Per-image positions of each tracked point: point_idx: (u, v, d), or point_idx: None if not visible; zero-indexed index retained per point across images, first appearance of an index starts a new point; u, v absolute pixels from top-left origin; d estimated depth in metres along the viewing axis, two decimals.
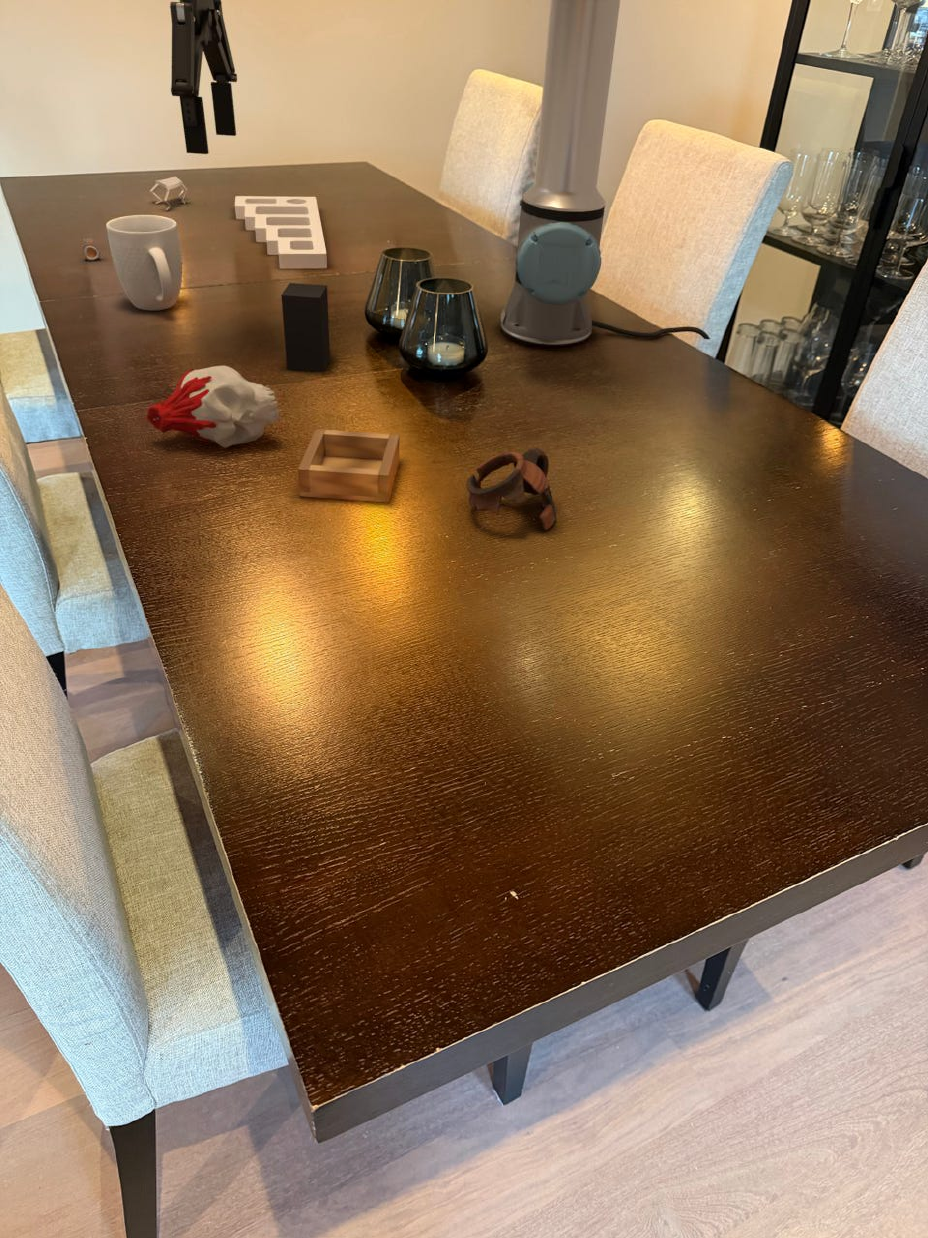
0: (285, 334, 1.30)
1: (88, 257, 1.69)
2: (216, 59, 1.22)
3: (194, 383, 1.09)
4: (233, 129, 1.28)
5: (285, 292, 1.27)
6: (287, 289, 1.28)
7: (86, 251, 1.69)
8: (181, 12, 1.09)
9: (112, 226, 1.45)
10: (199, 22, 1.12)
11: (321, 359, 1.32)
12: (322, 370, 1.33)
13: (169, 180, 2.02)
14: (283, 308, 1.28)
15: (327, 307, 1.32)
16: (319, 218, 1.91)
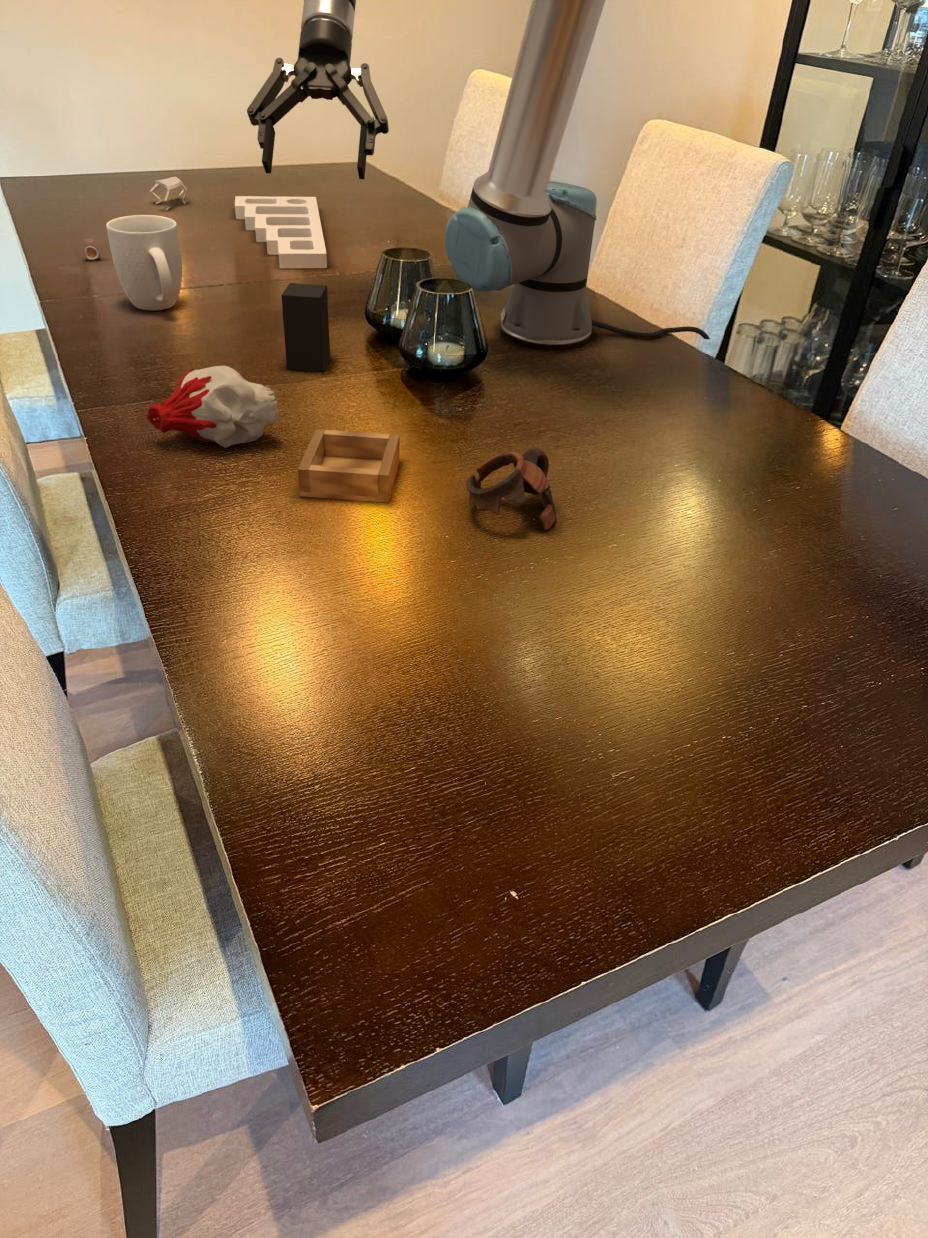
0: (285, 334, 1.30)
1: (88, 257, 1.69)
2: (353, 110, 1.29)
3: (194, 383, 1.09)
4: None
5: (285, 292, 1.27)
6: (287, 289, 1.28)
7: (86, 251, 1.69)
8: None
9: (112, 226, 1.45)
10: (299, 73, 1.29)
11: (321, 359, 1.32)
12: (322, 370, 1.33)
13: (169, 180, 2.02)
14: (283, 308, 1.28)
15: (327, 307, 1.32)
16: (319, 218, 1.91)
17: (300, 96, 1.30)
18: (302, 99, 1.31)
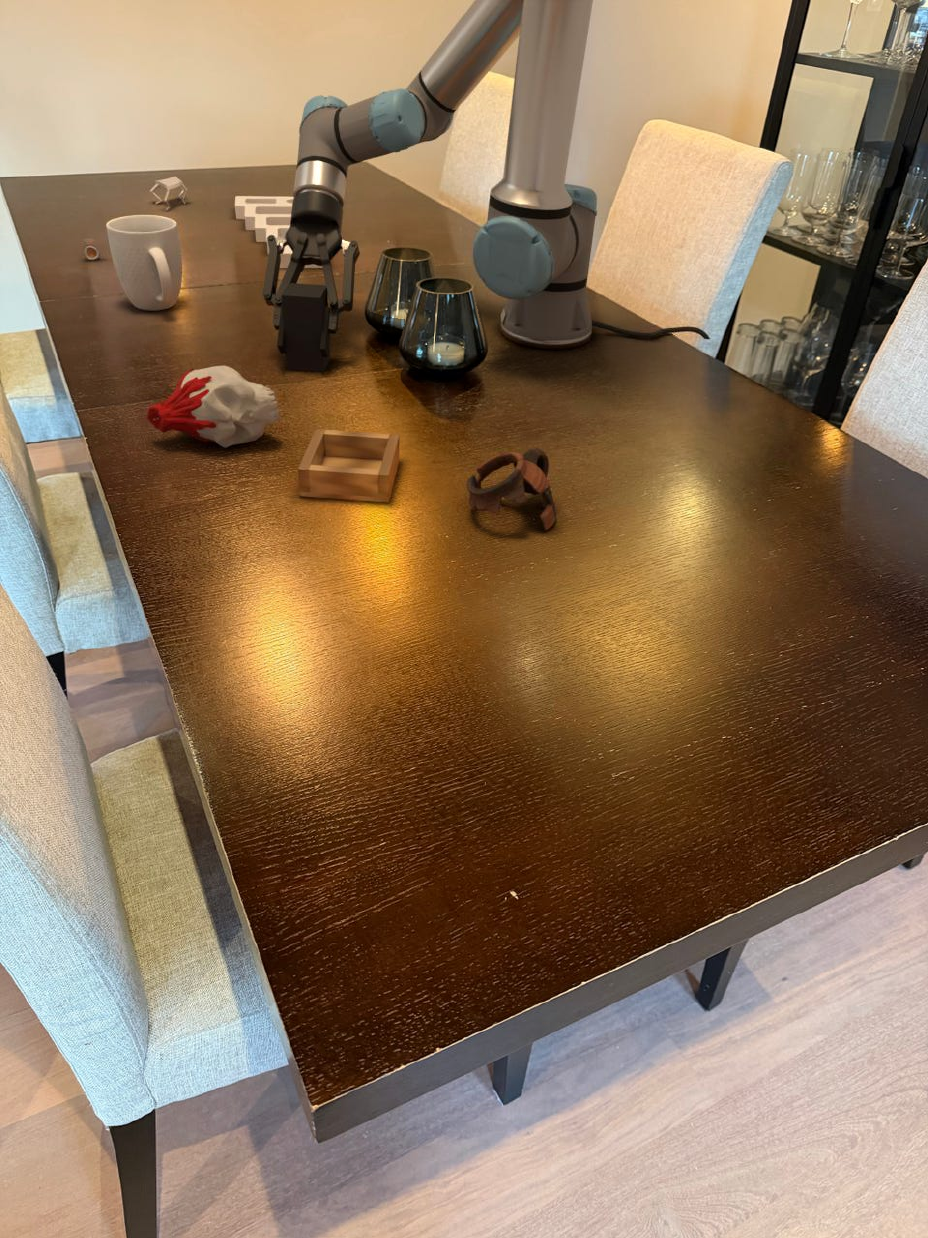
0: (285, 334, 1.30)
1: (88, 257, 1.69)
2: None
3: (194, 383, 1.09)
4: (320, 343, 1.29)
5: (285, 292, 1.27)
6: (287, 289, 1.28)
7: (86, 251, 1.69)
8: None
9: (112, 226, 1.45)
10: (290, 242, 1.31)
11: (321, 359, 1.32)
12: (322, 370, 1.33)
13: (169, 180, 2.02)
14: (283, 308, 1.28)
15: None
16: None
17: (301, 266, 1.32)
18: (302, 268, 1.33)
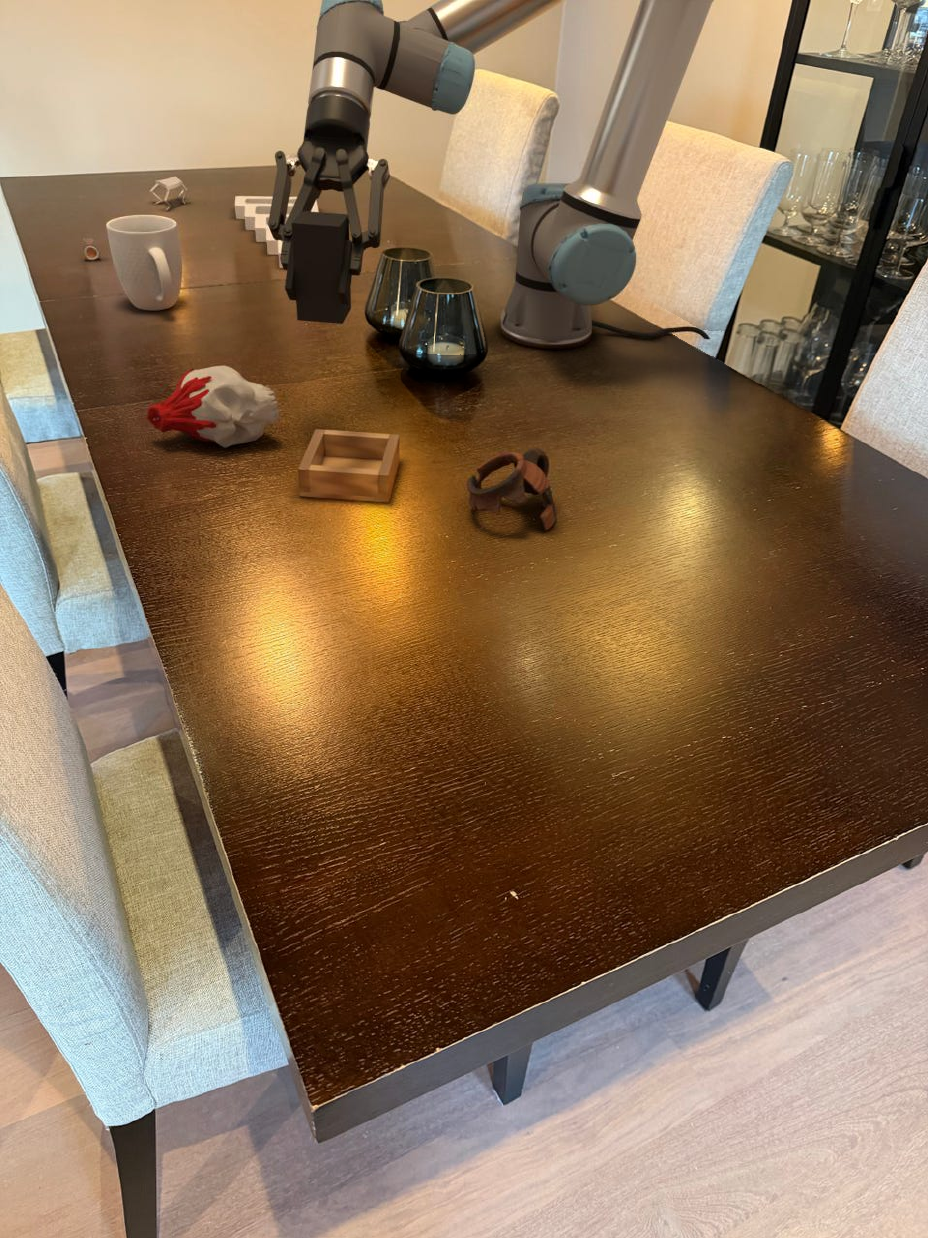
0: (295, 274, 1.03)
1: (88, 257, 1.69)
2: None
3: (194, 383, 1.09)
4: (339, 286, 1.03)
5: (296, 220, 1.01)
6: (299, 217, 1.02)
7: (86, 251, 1.69)
8: None
9: (112, 226, 1.45)
10: (304, 160, 1.05)
11: (340, 307, 1.05)
12: (341, 321, 1.06)
13: (169, 180, 2.02)
14: (293, 240, 1.01)
15: None
16: None
17: (316, 192, 1.06)
18: (318, 194, 1.07)
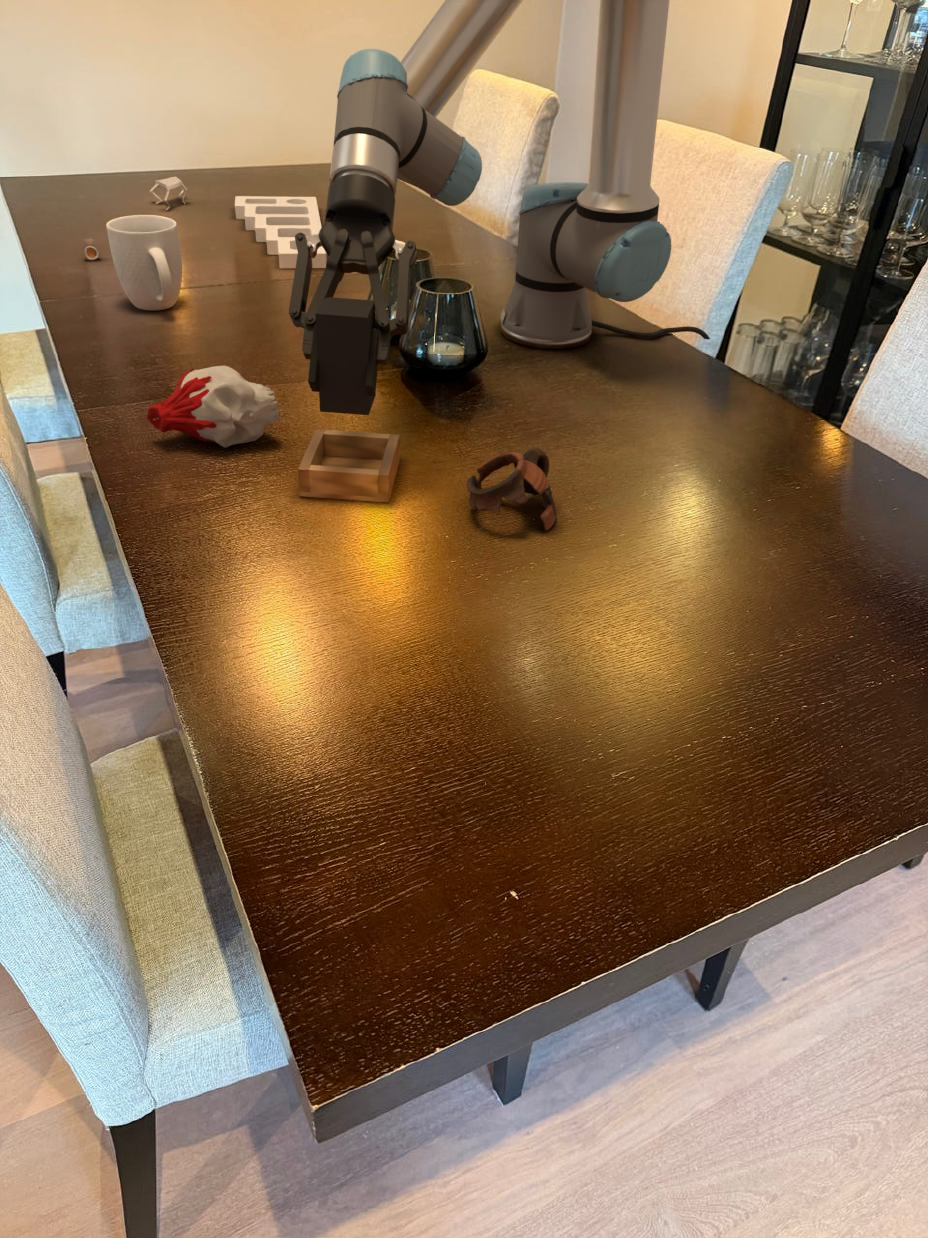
0: (319, 366, 0.97)
1: (88, 257, 1.69)
2: None
3: (194, 383, 1.09)
4: (366, 379, 0.96)
5: (320, 310, 0.94)
6: (322, 306, 0.95)
7: (86, 251, 1.69)
8: None
9: (112, 226, 1.45)
10: (326, 242, 0.98)
11: (366, 399, 0.99)
12: (367, 413, 1.00)
13: (169, 180, 2.02)
14: (317, 331, 0.94)
15: None
16: (319, 218, 1.91)
17: (339, 275, 0.99)
18: (341, 277, 1.00)
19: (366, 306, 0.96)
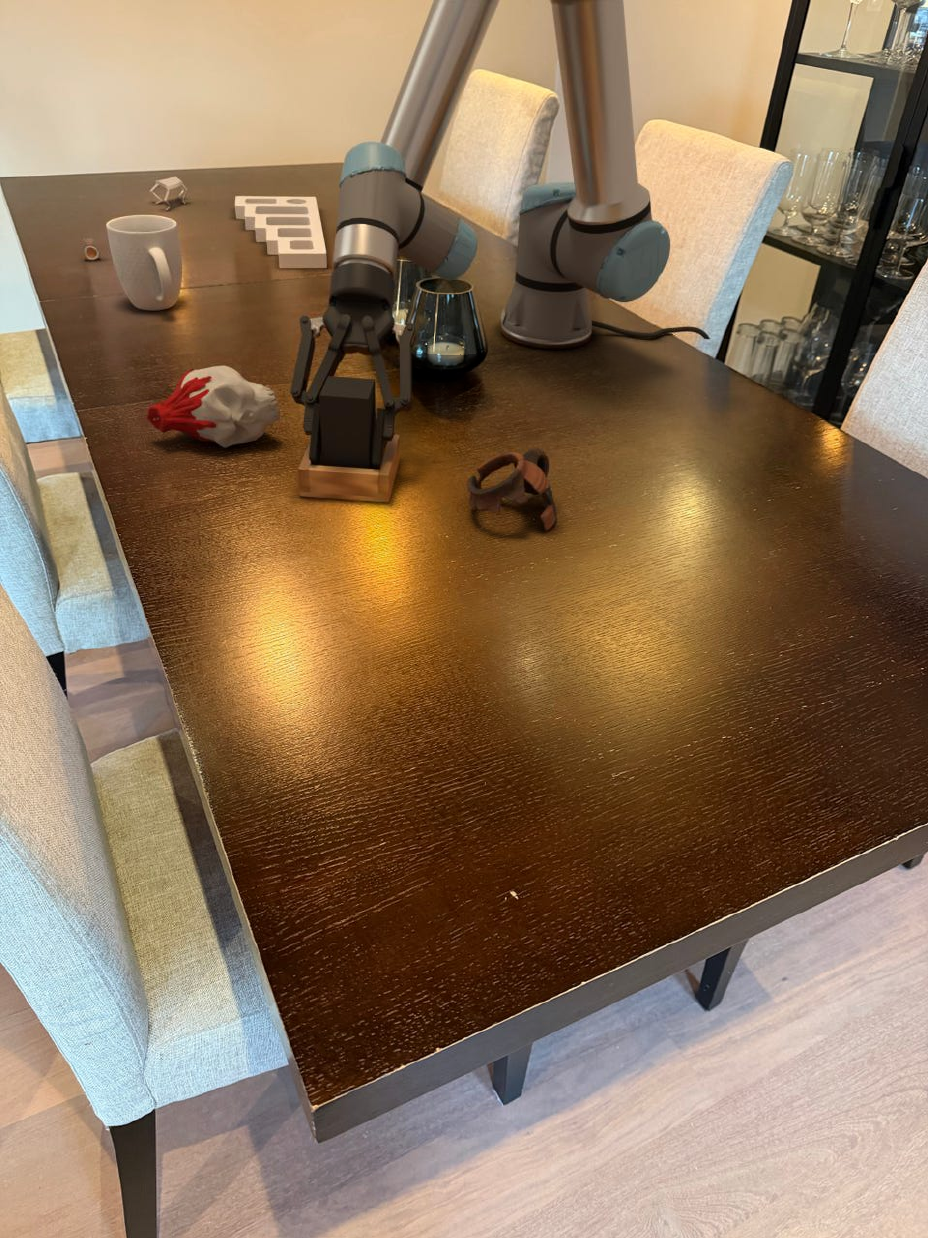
0: (323, 442, 1.02)
1: (88, 257, 1.69)
2: None
3: (194, 383, 1.09)
4: (373, 456, 1.02)
5: (324, 391, 1.00)
6: (326, 386, 1.01)
7: (86, 251, 1.69)
8: None
9: (112, 226, 1.45)
10: (329, 326, 1.04)
11: None
12: None
13: (169, 180, 2.02)
14: (321, 411, 1.00)
15: (375, 405, 1.05)
16: (319, 218, 1.91)
17: (340, 356, 1.05)
18: (342, 357, 1.06)
19: (367, 386, 1.01)
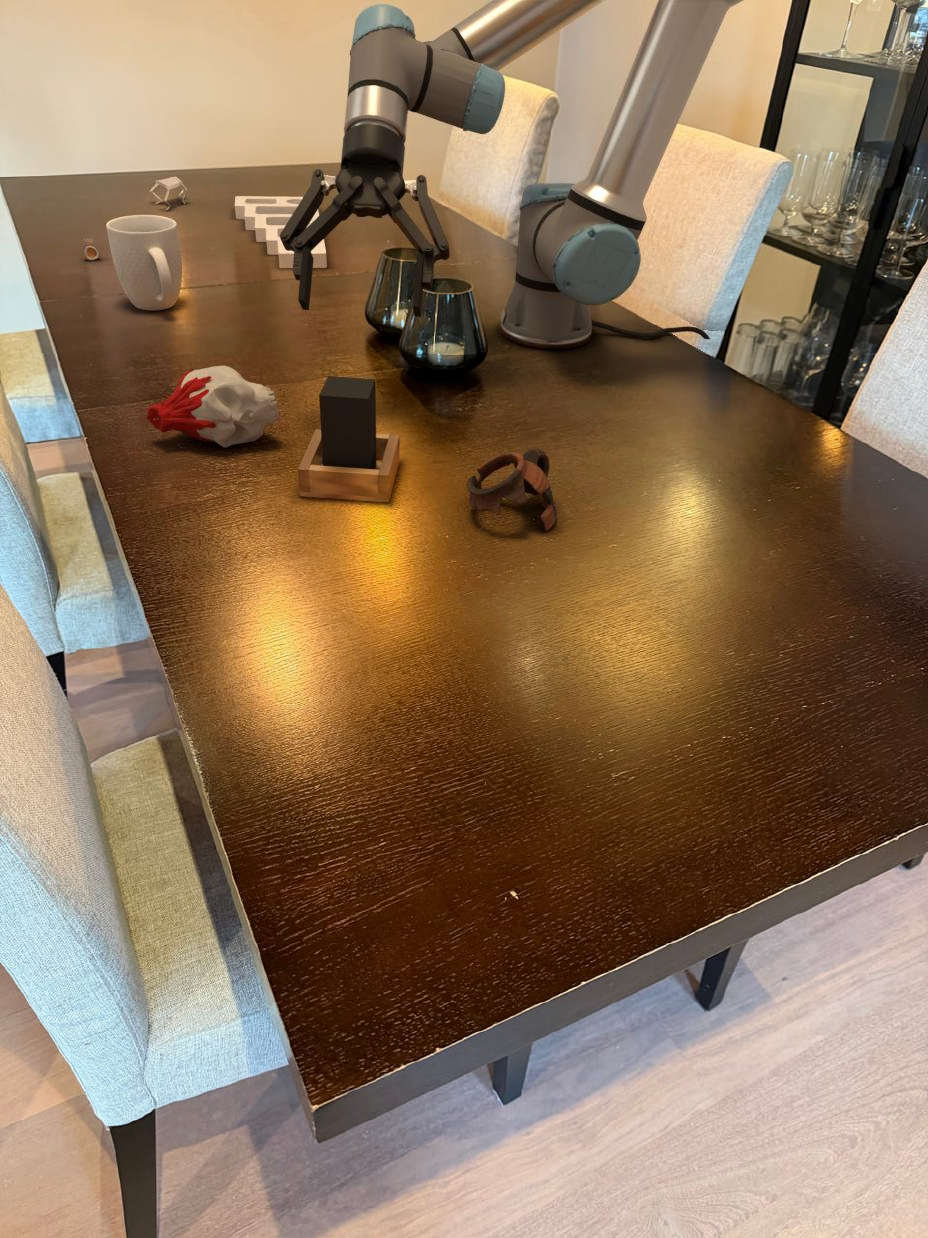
0: (323, 442, 1.02)
1: (88, 257, 1.69)
2: (407, 233, 1.07)
3: (194, 383, 1.09)
4: (413, 300, 1.05)
5: (324, 391, 1.00)
6: (326, 386, 1.01)
7: (86, 251, 1.69)
8: None
9: (112, 226, 1.45)
10: (342, 188, 1.07)
11: None
12: None
13: (169, 180, 2.02)
14: (321, 411, 1.00)
15: (375, 405, 1.05)
16: None
17: (343, 215, 1.08)
18: (345, 217, 1.09)
19: (367, 386, 1.01)
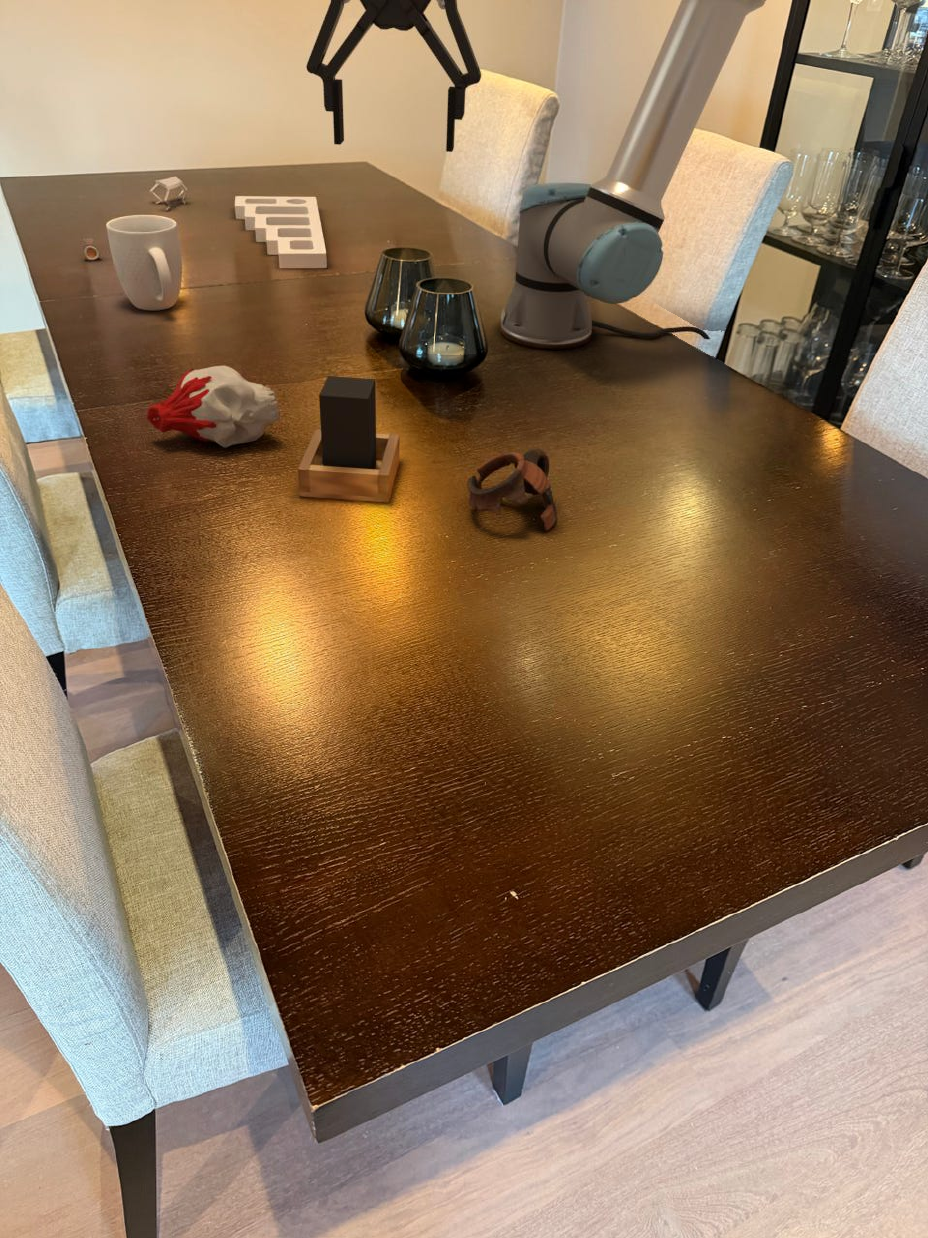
0: (323, 442, 1.02)
1: (88, 257, 1.69)
2: None
3: (194, 383, 1.09)
4: (446, 143, 1.08)
5: (324, 391, 1.00)
6: (326, 386, 1.01)
7: (86, 251, 1.69)
8: None
9: (112, 226, 1.45)
10: (365, 3, 1.00)
11: None
12: None
13: (169, 180, 2.02)
14: (321, 411, 1.00)
15: (375, 405, 1.05)
16: (319, 218, 1.91)
17: (368, 29, 1.02)
18: (370, 27, 1.03)
19: (367, 386, 1.01)
